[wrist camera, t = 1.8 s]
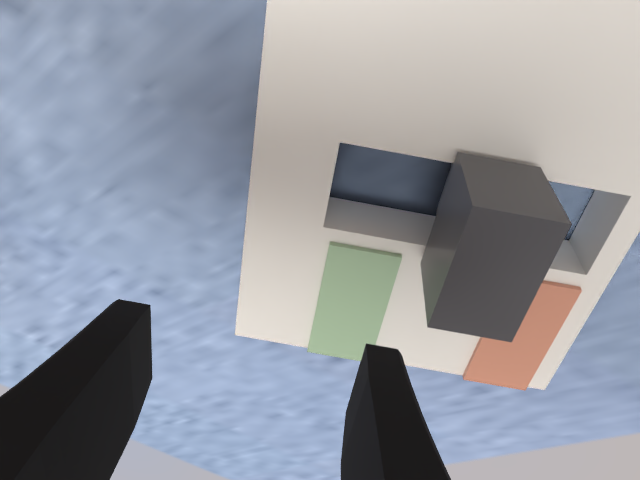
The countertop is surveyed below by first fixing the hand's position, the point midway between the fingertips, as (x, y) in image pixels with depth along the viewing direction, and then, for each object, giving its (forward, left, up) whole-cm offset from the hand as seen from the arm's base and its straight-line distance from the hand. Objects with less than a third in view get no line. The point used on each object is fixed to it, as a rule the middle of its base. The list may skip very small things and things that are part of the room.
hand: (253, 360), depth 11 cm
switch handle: (-6, 0, -9) cm, 11 cm away
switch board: (-4, 0, -9) cm, 10 cm away
